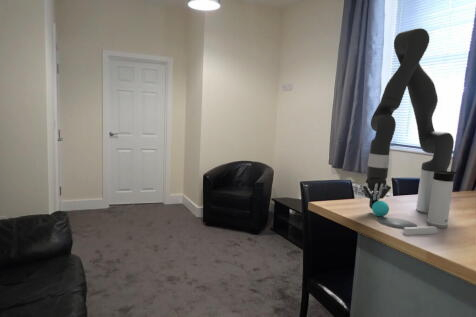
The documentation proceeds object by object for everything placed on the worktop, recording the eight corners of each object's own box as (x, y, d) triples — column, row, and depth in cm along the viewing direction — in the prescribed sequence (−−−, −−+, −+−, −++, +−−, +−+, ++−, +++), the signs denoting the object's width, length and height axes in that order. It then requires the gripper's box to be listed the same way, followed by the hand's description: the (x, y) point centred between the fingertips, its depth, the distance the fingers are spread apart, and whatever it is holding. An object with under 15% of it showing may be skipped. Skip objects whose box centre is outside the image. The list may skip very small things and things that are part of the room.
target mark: (398, 217, 130) (399, 216, 130) (426, 228, 117) (426, 228, 117) (369, 218, 126) (370, 217, 126) (394, 229, 114) (394, 229, 114)
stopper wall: (432, 231, 114) (433, 226, 114) (436, 233, 113) (437, 227, 112) (403, 233, 111) (403, 227, 110) (406, 234, 109) (407, 228, 109)
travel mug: (451, 229, 118) (459, 173, 115) (430, 227, 119) (438, 171, 117) (444, 224, 124) (451, 170, 122) (424, 222, 125) (431, 168, 123)
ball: (386, 197, 130) (393, 207, 125) (382, 209, 134) (389, 219, 129) (371, 197, 130) (378, 208, 125) (367, 209, 133) (374, 220, 128)
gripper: (369, 166, 127) (364, 211, 129) (399, 167, 130) (393, 211, 132) (357, 163, 134) (353, 206, 136) (385, 164, 137) (381, 206, 140)
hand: (373, 208), depth 134 cm, fingers closed
